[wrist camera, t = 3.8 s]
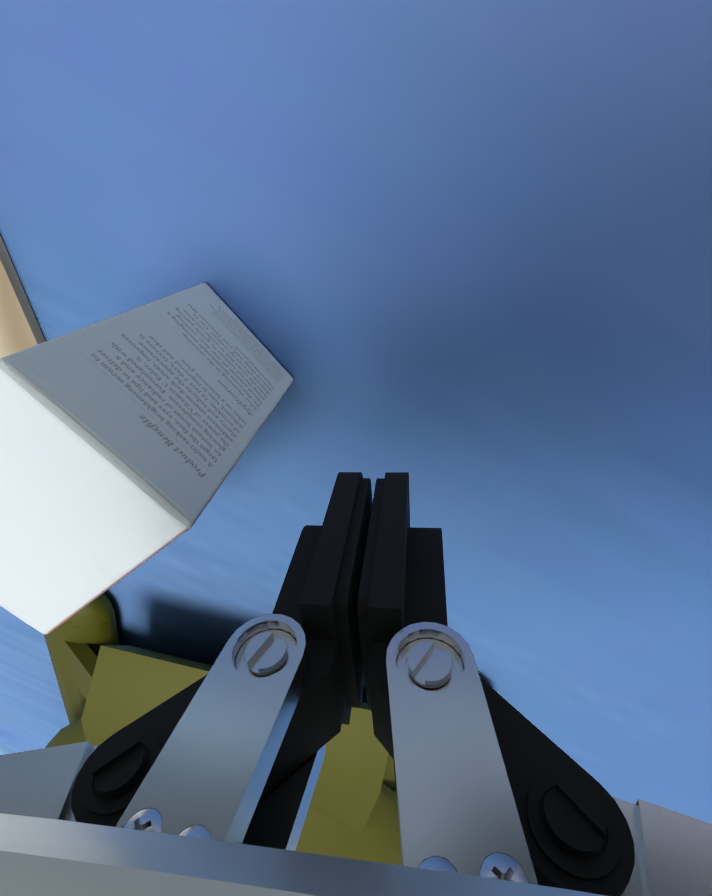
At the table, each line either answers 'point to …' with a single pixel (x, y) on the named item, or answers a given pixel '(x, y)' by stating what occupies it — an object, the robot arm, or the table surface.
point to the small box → (120, 444)
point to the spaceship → (162, 676)
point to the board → (15, 311)
